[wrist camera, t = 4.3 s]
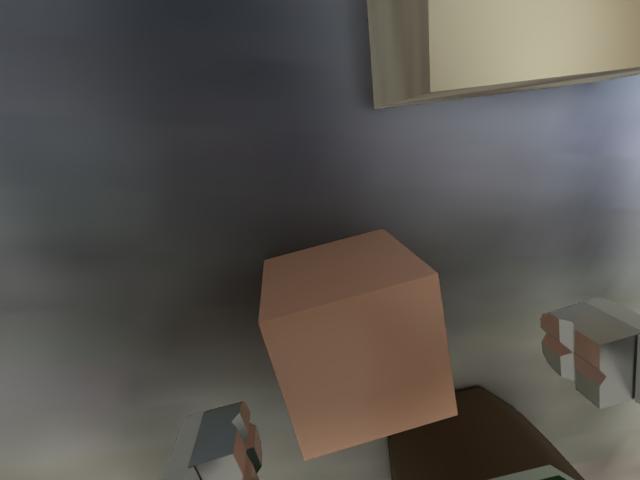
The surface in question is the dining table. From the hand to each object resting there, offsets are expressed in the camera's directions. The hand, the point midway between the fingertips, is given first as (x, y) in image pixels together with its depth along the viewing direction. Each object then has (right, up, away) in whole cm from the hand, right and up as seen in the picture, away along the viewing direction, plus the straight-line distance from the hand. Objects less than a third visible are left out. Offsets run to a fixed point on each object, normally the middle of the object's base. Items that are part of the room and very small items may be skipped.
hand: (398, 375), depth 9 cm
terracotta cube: (-1, +1, +6) cm, 6 cm away
